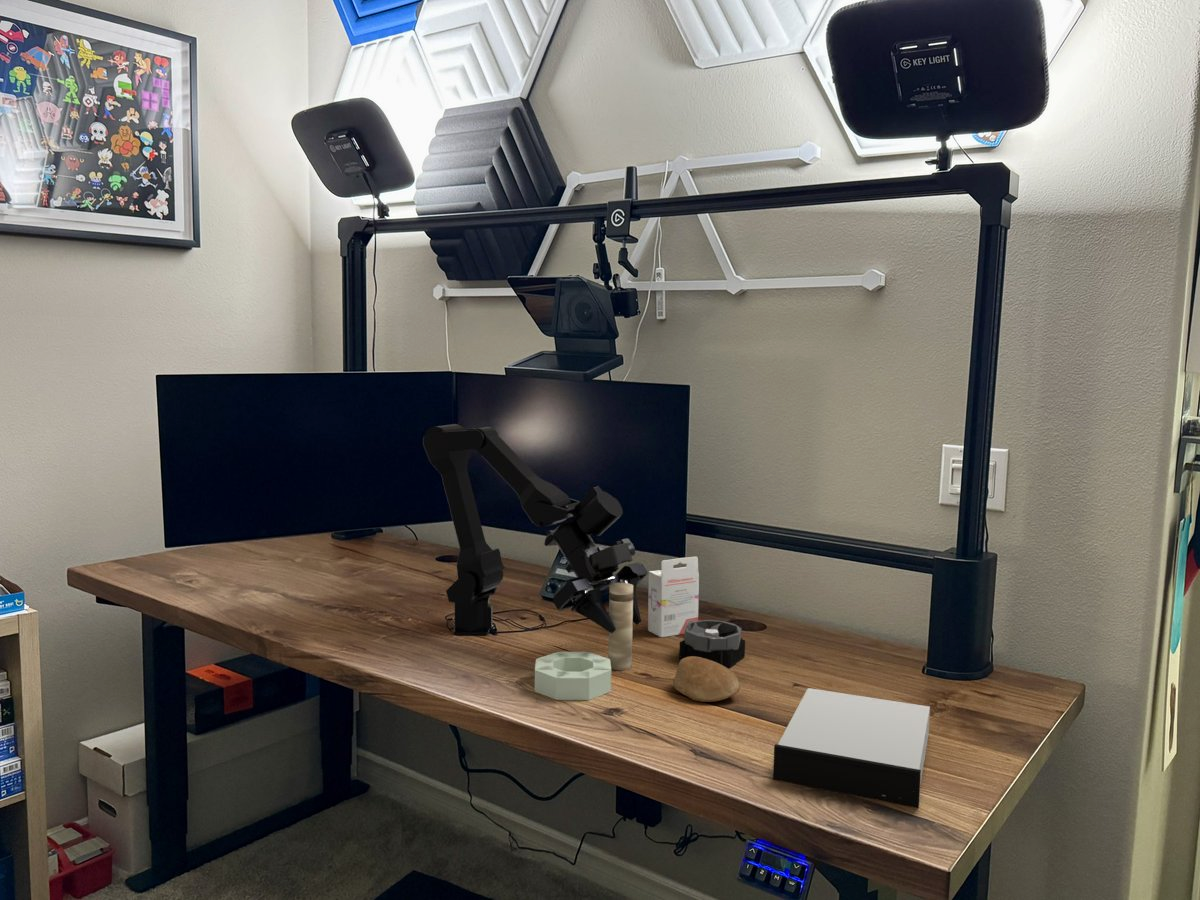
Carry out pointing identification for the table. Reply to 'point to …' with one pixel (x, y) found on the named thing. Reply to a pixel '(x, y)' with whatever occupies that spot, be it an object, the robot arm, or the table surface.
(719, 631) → the cpu cooler
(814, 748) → the disc drive
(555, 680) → the sage ashtray
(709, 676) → the stone
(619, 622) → the maple peg
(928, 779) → the table surface
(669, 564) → the ink cartridge box
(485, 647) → the table surface
